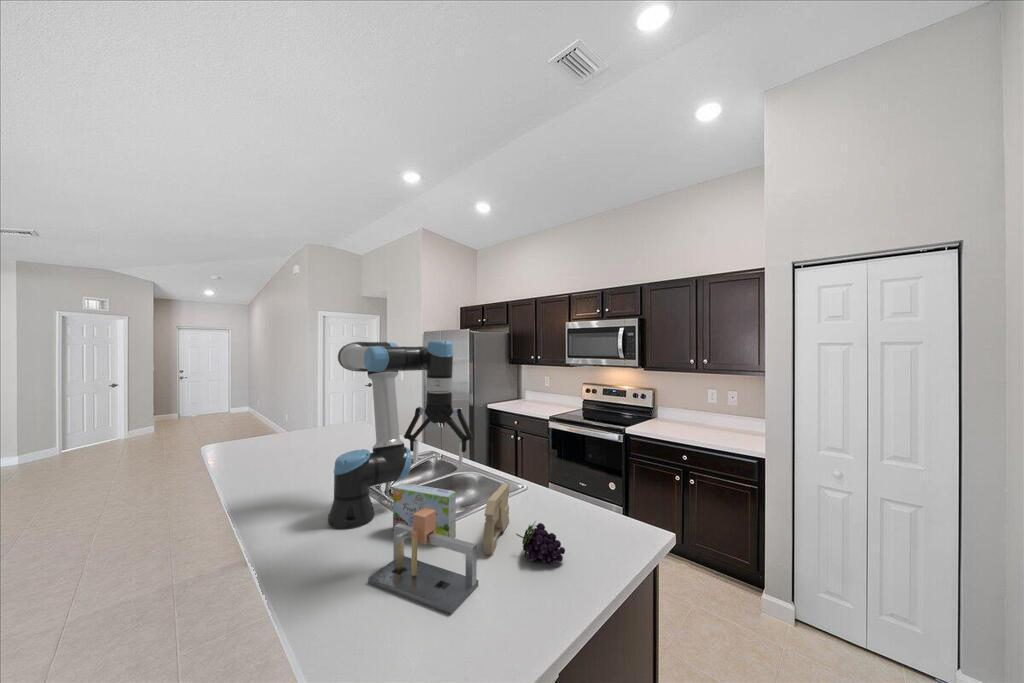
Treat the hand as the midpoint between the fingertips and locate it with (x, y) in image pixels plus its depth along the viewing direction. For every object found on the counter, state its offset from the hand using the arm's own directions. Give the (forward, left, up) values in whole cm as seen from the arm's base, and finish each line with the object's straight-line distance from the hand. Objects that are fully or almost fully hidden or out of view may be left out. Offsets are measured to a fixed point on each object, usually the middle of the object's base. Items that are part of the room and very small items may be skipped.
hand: (438, 462), depth 114 cm
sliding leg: (+3, -11, -25) cm, 28 cm away
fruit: (+29, +11, -27) cm, 41 cm away
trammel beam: (+6, -12, -26) cm, 30 cm away
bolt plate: (+6, -14, -27) cm, 31 cm away
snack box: (-11, +7, -27) cm, 30 cm away
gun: (+11, +17, -27) cm, 34 cm away
